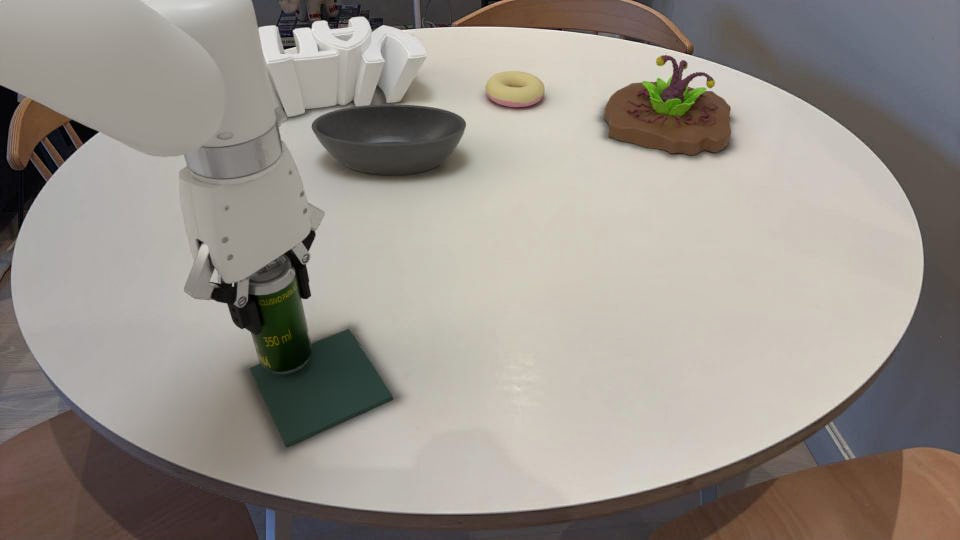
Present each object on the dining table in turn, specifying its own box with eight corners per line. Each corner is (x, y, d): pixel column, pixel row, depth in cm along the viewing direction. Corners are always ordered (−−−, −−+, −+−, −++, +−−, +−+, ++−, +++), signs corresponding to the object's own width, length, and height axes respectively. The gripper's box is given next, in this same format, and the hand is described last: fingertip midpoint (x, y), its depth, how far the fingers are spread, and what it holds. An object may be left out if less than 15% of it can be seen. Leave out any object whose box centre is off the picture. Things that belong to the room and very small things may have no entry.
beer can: (300, 331, 75) (280, 242, 67) (321, 362, 71) (302, 272, 64) (252, 351, 72) (225, 262, 65) (271, 385, 69) (245, 294, 61)
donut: (528, 125, 116) (550, 95, 122) (532, 103, 113) (554, 73, 118) (475, 104, 119) (499, 76, 124) (477, 82, 115) (501, 53, 120)
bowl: (465, 184, 99) (464, 146, 95) (310, 183, 99) (303, 145, 95) (467, 141, 108) (467, 104, 104) (325, 140, 108) (320, 103, 104)
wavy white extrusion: (416, 67, 129) (413, 10, 122) (432, 108, 116) (429, 47, 110) (219, 87, 122) (204, 27, 116) (214, 132, 110) (197, 69, 103)
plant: (613, 88, 122) (621, 25, 115) (728, 102, 118) (745, 37, 111) (596, 144, 107) (604, 75, 100) (727, 162, 103) (746, 92, 96)
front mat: (286, 447, 65) (285, 444, 65) (250, 370, 72) (249, 367, 72) (393, 399, 69) (392, 395, 69) (349, 331, 77) (348, 328, 76)
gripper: (282, 93, 63) (313, 251, 75) (107, 175, 52) (174, 344, 64) (342, 117, 59) (364, 278, 71) (167, 210, 49) (227, 382, 61)
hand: (274, 308), depth 67 cm, fingers closed on beer can, 5 cm apart
